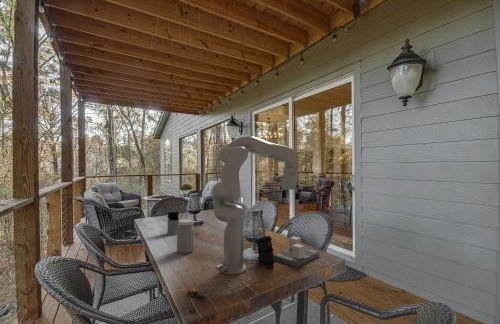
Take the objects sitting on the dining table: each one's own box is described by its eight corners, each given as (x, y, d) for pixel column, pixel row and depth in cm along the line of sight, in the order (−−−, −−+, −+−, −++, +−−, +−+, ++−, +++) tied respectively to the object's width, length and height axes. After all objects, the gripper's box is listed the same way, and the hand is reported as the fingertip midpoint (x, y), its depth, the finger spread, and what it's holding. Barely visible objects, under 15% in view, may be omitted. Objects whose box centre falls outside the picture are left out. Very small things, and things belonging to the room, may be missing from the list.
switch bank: (296, 267, 124) (296, 262, 124) (273, 259, 134) (273, 254, 134) (319, 256, 139) (319, 251, 139) (296, 249, 150) (296, 245, 150)
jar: (189, 255, 140) (190, 223, 140) (173, 253, 141) (174, 222, 142) (196, 249, 149) (197, 219, 149) (181, 248, 151) (182, 218, 151)
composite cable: (206, 301, 94) (207, 294, 94) (195, 305, 91) (195, 299, 91) (195, 290, 102) (195, 284, 102) (184, 294, 99) (184, 288, 99)
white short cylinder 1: (299, 259, 127) (299, 247, 127) (292, 257, 130) (292, 245, 130) (304, 257, 130) (304, 245, 130) (297, 254, 133) (297, 243, 133)
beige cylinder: (296, 250, 140) (296, 239, 140) (289, 248, 144) (289, 237, 144) (300, 248, 144) (300, 237, 144) (294, 246, 147) (294, 236, 147)
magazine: (271, 268, 119) (264, 236, 124) (259, 270, 129) (253, 241, 135) (277, 267, 120) (271, 235, 126) (265, 269, 131) (260, 240, 137)
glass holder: (166, 232, 184) (166, 212, 184) (185, 230, 190) (185, 210, 190) (167, 235, 176) (167, 214, 176) (187, 233, 182) (188, 213, 182)
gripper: (275, 170, 155) (275, 197, 155) (299, 171, 143) (299, 200, 143) (282, 170, 160) (282, 196, 160) (306, 170, 148) (306, 199, 148)
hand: (290, 198), depth 151 cm, fingers open, 9 cm apart
